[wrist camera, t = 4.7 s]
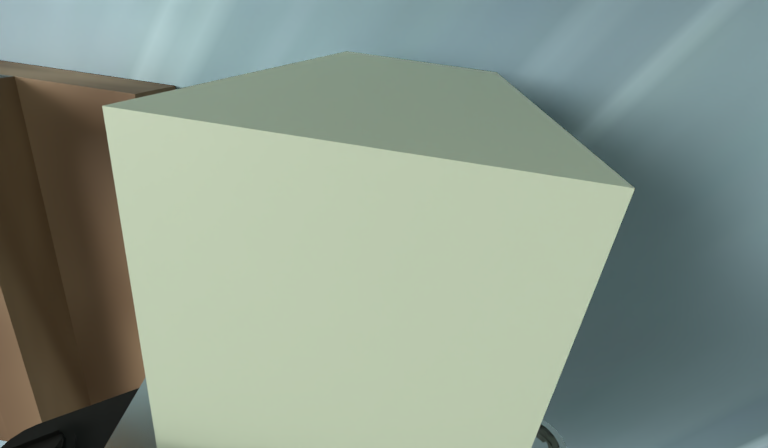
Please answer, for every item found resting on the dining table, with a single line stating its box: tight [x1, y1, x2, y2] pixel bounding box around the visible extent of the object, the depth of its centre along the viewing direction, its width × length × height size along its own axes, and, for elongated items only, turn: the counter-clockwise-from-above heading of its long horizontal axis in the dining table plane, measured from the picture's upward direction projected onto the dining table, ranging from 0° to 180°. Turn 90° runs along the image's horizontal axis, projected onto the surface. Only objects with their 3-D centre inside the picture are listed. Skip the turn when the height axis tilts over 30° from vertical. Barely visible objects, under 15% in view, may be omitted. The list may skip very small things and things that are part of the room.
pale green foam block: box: [102, 51, 635, 448], centre depth 10 cm, size 4×13×9 cm, turn 173°
